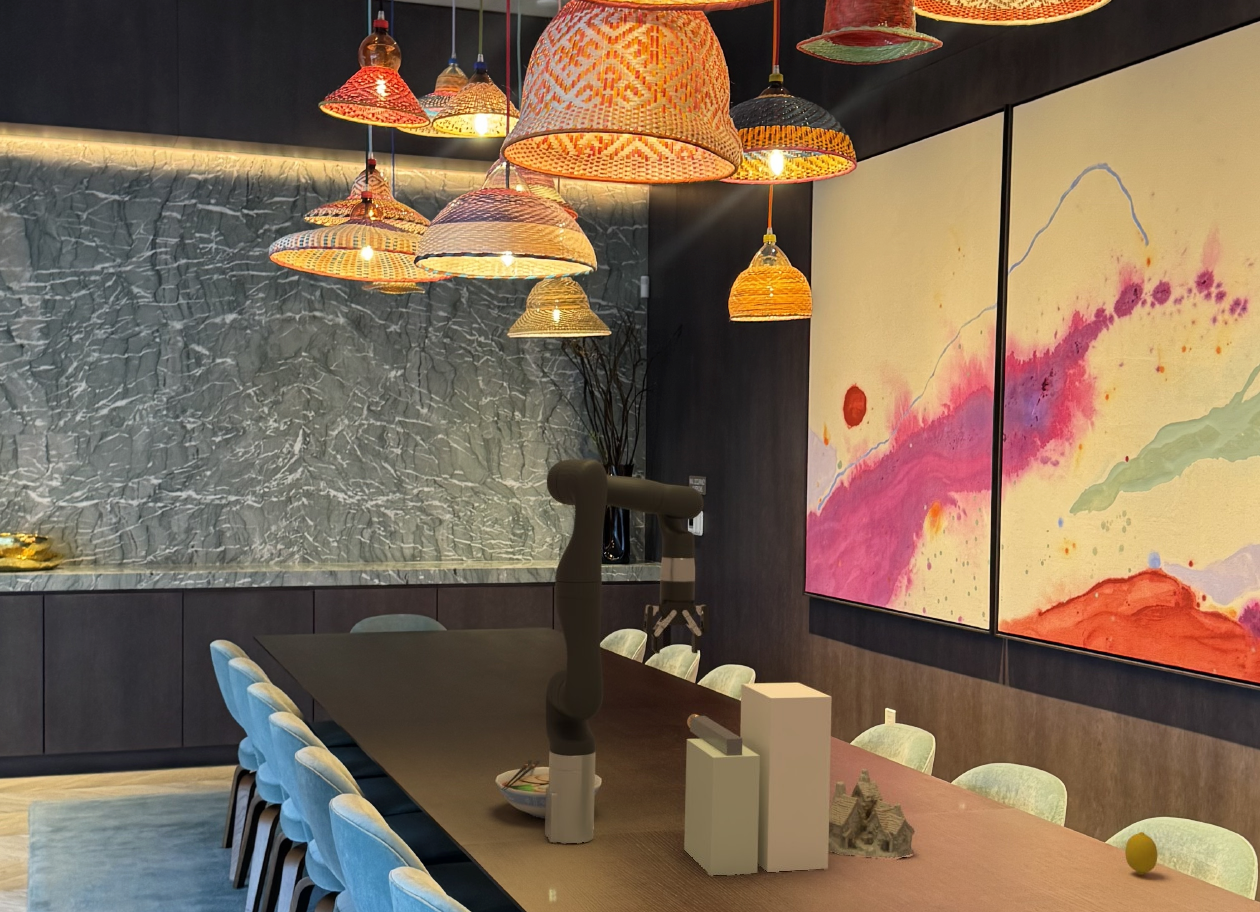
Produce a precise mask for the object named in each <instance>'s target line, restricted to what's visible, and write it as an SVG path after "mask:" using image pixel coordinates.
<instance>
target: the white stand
mask: <svg viewBox="0 0 1260 912" xmlns="http://www.w3.org/2000/svg"><path fill="white" fill-rule="evenodd" d="M740 689H741V691H740V692H741V693H740V694H741V695H740V736H739V737H741V738H742V745H743V746H745V747H746V748H748V749H750V750H751V751H753V752H754V753H756V754H758V755H759V756H760V771H759V816H758V861H757V863H758V864H759V865H760V866H761V867H762V868H763V869H764V871H765V870H766V871H767V872H776V873H780V872H779V871H790V870H808V871H810V870H809V869H821V868H828V869H829V852H828V843H829V809H830V797H831V796H830V793H831V792H830V789H831V788H830V787H831V784H830V783H831V743H832V740H831V739H832V737H831V736H832V698H833V697H832V696H831V695H828V694H826V693H823V692H821V691H819V690H817V689H815V688H813V687H809V686H808V685H805V684H803V683H801V682H765V683H763V682H761V683H759V682H757V683H741V687H740ZM758 864H757V865H758ZM759 865H758V866H759ZM760 866H759V867H760ZM761 867H760V868H761ZM762 868H761V869H762ZM763 869H762V870H763ZM766 871H765V872H766ZM767 872H766V873H767Z"/></svg>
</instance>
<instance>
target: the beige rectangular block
mask: <svg viewBox="0 0 1260 912" xmlns="http://www.w3.org/2000/svg"><path fill="white" fill-rule="evenodd" d="M685 757H686V761H685V762H686V764H685V765H686V766H685V796H684V797H685V800H684V801H685V804H684V807H685V808H684V842H683V843H684V844H683V845H684V847H683V849H684V850H685V851H686V852H687V853H688V854H689V855H690V856H691V857H693V859H694V860H695V861H696V862H698V863H699V865H701V867H703V869H705V870H706V871H707V872H708V873H707V875H709V876H710V875H711V876H710V877H714V876H713V875H727V876H740V874H744V875H752V874H751V873H757V874H758V864H757V861H758V816H759V771H760V756H759V755H758V754H756V753H754V752H753V751H751V750H750V749H748V748H746V747H745V746H743V745H742V755H729V756H727V755H725V754H724V753H722V752H721V751H719V750H718V749H716V748H715V747H713V746H712V745H710V744H709V743H707V742H705V741H704V740H702V739H701V738H686V756H685ZM684 850H683V851H684ZM685 851H684V852H685ZM686 852H685V853H686ZM687 853H686V854H687ZM688 854H687V855H688ZM689 855H688V856H689ZM690 856H689V857H690ZM691 857H690V858H691ZM693 859H692V860H693ZM694 860H693V861H694ZM695 861H694V862H695ZM699 865H698V866H699ZM701 867H700V868H701ZM703 869H702V870H703ZM735 874H737V875H735Z"/></svg>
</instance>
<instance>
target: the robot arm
mask: <svg viewBox="0 0 1260 912" xmlns="http://www.w3.org/2000/svg"><path fill="white" fill-rule="evenodd" d="M546 488H547V491H548V493H549V495H550V496H551V498H552V499H553V500H554V501H556V502H558V503H560V504H561V505H567V506H574V525H573V530H572V534H571V537H570V539H569V542H568V544H567V546H566V548H565V550H564V551H563V554H562V555H561V558H560V559H559V562H558V565H557V567H556V571H555V588H554V591H555V592H554V593H555V594H554V600H555V602H554V603H555V610H556V614H557V618H558V622H559V625H560V628H561V631H562V632H561V633H562V634H563V638H564V642H565V648H566V650H565V651H566V668H561V669H559V670H557V671H556V672H555V673H553V675H552V676H551V677H550V679H549V681H548V682H547V686H546V692H545V731H546V736H547V739H548V745H549V748H548V749H549V754H548V755H549V757H548V759H549V760H548V767H549V786H548V787H546V810H545V818H544V819H545V821H544V822H545V823H544V835H545V836H546V838H547V837H548V838H547V840H548V841H549V843H551V842H553V843H557V842H561V843H560V844H566V843H577V844H583V843H582V842H584V843H587V842H591V841H592V840H593V839H594V829H595V826H594V825H595V821H594V820H595V796H594V793H595V774H596V748H597V747H596V746H597V745H596V742H597V740H596V737H595V735H594V733H593V732H592V730H591V728H590V726H589V722H588V720H591V719H592V718H593V717H595V716H596V715H597V714H598V712H599V711H600V709H601V707H602V704H603V701H604V694H605V693H604V692H605V691H604V679H603V667H602V666H603V665H602V655H601V636H602V635H601V632H602V631H601V628H602V627H601V623H602V621H601V619H602V617H601V614H602V612H601V611H602V609H601V608H602V595H603V594H602V592H603V591H602V585H603V582H602V581H603V579H602V573H603V572H602V569H603V568H602V565H603V564H602V560H603V559H602V558H603V540H604V539H603V537H604V525H605V516H606V509H607V506H610V507H614V508H621V509H624V510H629V511H634V512H637V513H644V514H648V515H649V514H650V515H656V516H657V521H658V525H659V530H660V535H661V538H662V548H661V551H662V552H661V563H660V573H659V578H660V583H659V584H660V585H659V604H658V605H650V604H646V605H645V606H644V607H645V608H644V617H643V618H644V619H643V629H642V630H643V631H644V632H645V633H647V634H649V635H651V650H652V651H653V653H654V654H657V655H658V654H660V653H661V636H660V634H661V633H662V632H663V631H664V629H666V627H668V625H669V626H677V625H678V626H687V627H688V628H689V630H690V631H691V633H692V635H691V653H692V654H698V651H700V650H701V636H702V635H704V634H708V633H709V632H710V617H709V616H710V614H709V611H710V610H709V609H710V608H709V606H707V605H706V604H701V605H696V604H695V595H696V594H695V590H696V589H695V587H696V586H695V584H696V565H695V535H694V533H693V532H691V531H689V530H687V529H684V527H683V525H682V521H681V520H693V519H695V518H696V517H698V516H699V515H701V513H702V511H703V508H704V498H703V495H702V494H701V493H700V492H699V491H698V490H697V489H696V488H694V487H691V486H687V485H686V486H685V485H677V484H668V483H667V484H666V483H662V482H659V481H656V480H650V479H645V478H642V477H641V478H640V477H632V476H622V475H621V476H620V475H610V474H607V471H606V469H605V467H604V465H603V464H602V463H601V462H600V461H598V460H595V459H584V458H583V459H574V458H573V459H563V460H561V461H558V462H557V463H555V464H553V465H552V466H551V467H550V469H549V471H548V474H547V476H546ZM657 612H658V614H659V615H660V618H659V619H658V620H657V622H656V624H655V626H654V627H653V620H654V619H653V618H654V616H656V613H657ZM696 612H697V615H699V618H700V619H699V621H700V622H699V623H700V627H698V625H697V623H696V622H695V620H694V619H693V616H694V615H695V614H696Z"/></svg>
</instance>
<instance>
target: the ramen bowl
mask: <svg viewBox="0 0 1260 912" xmlns="http://www.w3.org/2000/svg"><path fill="white" fill-rule="evenodd" d="M539 764H540V760H536V761H534V763H533V761H532V759H528V760H527V761H526V763H525V764H524V765H523V766H522V767H521V768H517V769H513V770H508V771H505V772H502V773H500V774H498V775H497V776H496V778H495V780H494V782H495V784H496V785H497V788H498V789H499V791H500V793H501V795H502V796H503V798H505V800H506V801H507V802H508V803H509V804H510V805H511V806H513V807H514V808H515V809H517V810H520V811H522V812H524V813H527V814H530V815H531V816H532V815H533V817H535V816H536V818H538V817H541V818H540V819H545V810H546V787H548V786H549V766H538V765H539ZM601 785H602V777H600V776H599V775H597V774H596V773H595V793H594V797H595V796H596V794H597V793H598V791H599V789H600V787H601Z"/></svg>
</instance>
